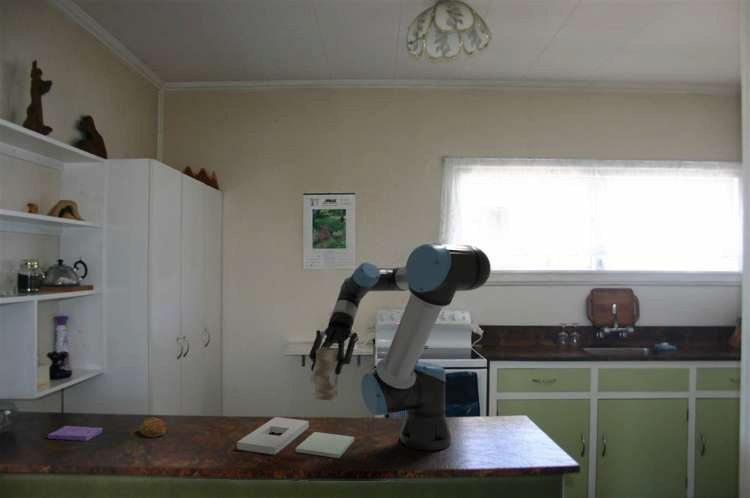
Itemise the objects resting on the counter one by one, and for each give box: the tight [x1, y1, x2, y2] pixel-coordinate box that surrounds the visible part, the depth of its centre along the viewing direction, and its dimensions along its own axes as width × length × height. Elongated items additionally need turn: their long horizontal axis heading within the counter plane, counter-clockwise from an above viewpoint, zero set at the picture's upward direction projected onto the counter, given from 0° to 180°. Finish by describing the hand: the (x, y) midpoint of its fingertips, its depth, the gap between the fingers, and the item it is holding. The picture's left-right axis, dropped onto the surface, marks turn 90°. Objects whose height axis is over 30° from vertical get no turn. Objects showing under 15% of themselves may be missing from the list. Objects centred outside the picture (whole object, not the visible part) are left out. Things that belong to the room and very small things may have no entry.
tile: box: [295, 431, 355, 459], centre depth 129 cm, size 13×13×1 cm
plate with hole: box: [236, 416, 310, 456], centre depth 135 cm, size 12×22×2 cm, turn 164°
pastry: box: [139, 417, 167, 438], centre depth 137 cm, size 9×7×4 cm
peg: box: [314, 347, 339, 402], centre depth 130 cm, size 5×5×14 cm
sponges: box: [47, 425, 103, 442], centre depth 134 cm, size 7×13×2 cm, turn 84°
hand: (321, 382), depth 126 cm, fingers closed on peg, 5 cm apart
